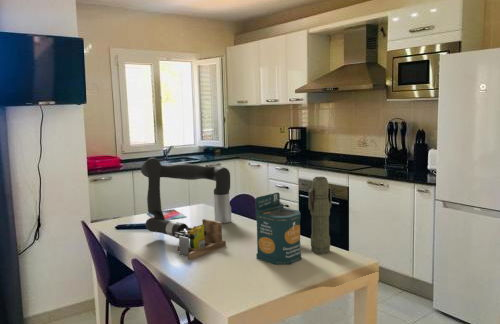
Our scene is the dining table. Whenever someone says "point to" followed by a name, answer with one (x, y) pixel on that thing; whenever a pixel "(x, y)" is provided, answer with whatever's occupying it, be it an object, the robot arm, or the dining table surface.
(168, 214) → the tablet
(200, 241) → the crayon box
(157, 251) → the dining table surface
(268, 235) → the donation box
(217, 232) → the rack
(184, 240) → the bookend
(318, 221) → the thermos
